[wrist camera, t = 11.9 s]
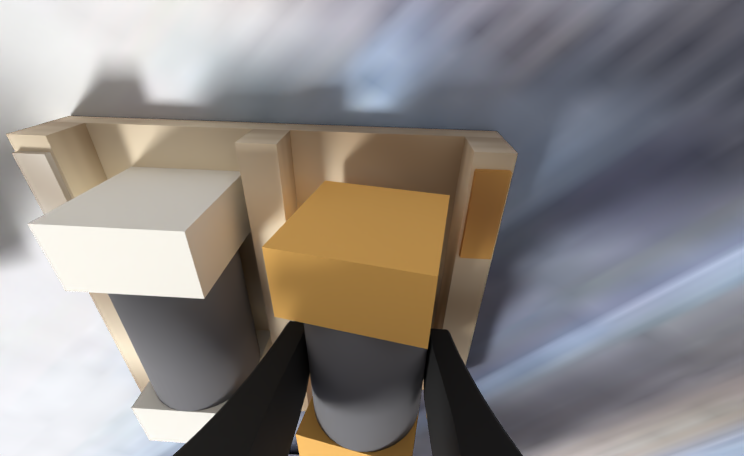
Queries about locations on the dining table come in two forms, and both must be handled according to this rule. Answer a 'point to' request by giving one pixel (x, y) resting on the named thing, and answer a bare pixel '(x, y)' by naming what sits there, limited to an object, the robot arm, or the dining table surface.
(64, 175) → the rack
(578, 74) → the dining table surface
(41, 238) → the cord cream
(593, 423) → the dining table surface
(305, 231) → the yellow dumbbell
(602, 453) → the dining table surface
